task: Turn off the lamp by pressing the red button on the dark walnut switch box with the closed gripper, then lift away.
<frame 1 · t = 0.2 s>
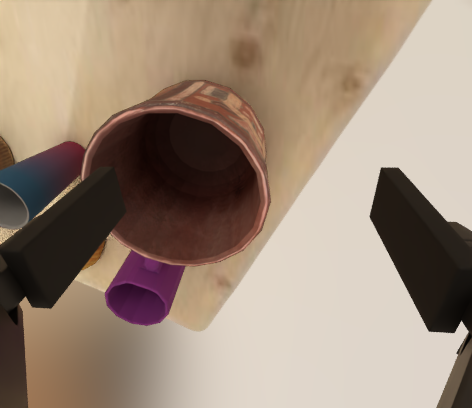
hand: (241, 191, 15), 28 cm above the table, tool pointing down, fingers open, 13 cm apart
mug: (172, 224, 52), on the table
pottery: (209, 136, 43), on the table
pastry: (86, 243, 56), on the table
cup: (75, 156, 47), on the table
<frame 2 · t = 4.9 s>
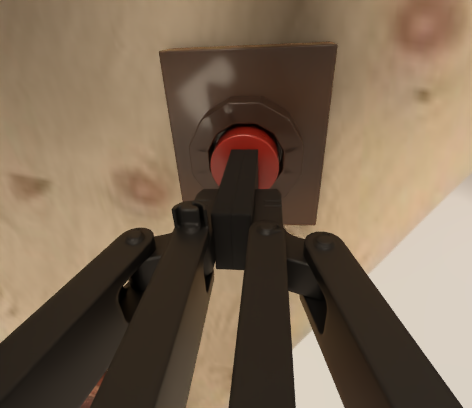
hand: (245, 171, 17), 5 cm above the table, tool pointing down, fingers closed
switch box: (249, 139, 21), on the table
lamp switch: (245, 161, 18), point 4 cm above the table, slide at -0.5 cm, touching gripper
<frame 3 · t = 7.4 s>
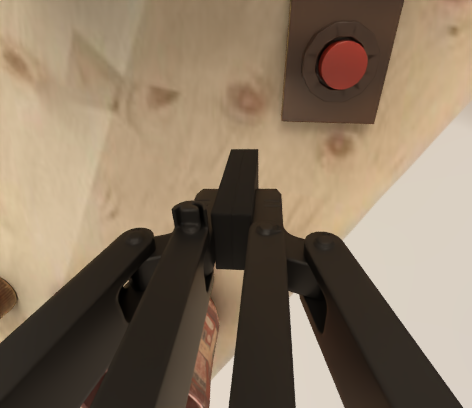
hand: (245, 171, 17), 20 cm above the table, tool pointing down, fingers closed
switch box: (332, 60, 31), on the table
pottery: (177, 297, 53), on the table
lamp switch: (341, 65, 27), point 5 cm above the table, slide at 0.1 cm
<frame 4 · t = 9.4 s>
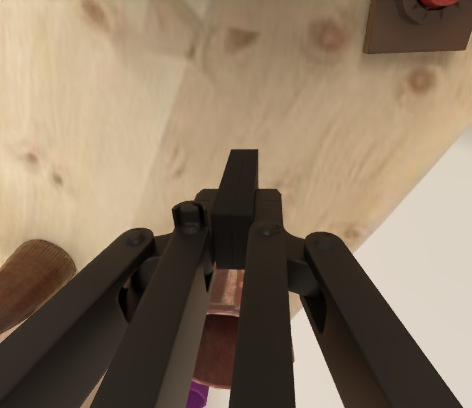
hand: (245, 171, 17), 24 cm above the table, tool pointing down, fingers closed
mug: (203, 315, 62), on the table
pottery: (237, 259, 53), on the table
lamp: (48, 260, 58), on the table
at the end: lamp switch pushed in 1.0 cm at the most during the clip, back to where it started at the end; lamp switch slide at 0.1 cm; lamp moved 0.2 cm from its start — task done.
